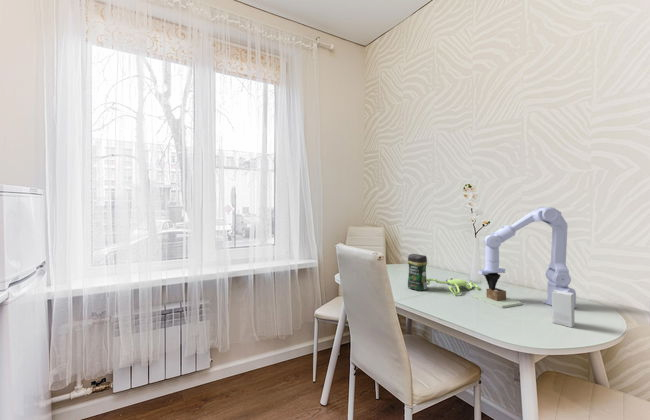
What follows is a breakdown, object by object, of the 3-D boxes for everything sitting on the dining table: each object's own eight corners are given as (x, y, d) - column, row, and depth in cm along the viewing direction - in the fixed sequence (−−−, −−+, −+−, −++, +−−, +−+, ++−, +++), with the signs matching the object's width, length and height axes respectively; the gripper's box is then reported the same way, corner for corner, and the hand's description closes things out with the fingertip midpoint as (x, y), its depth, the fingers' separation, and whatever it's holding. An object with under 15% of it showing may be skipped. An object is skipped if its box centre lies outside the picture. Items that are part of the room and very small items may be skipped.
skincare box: (574, 324, 109) (575, 292, 109) (572, 328, 106) (572, 295, 106) (554, 319, 114) (554, 289, 114) (551, 322, 111) (551, 291, 111)
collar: (506, 299, 135) (506, 291, 135) (496, 301, 133) (496, 292, 133) (495, 296, 140) (495, 287, 140) (486, 297, 138) (486, 288, 138)
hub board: (522, 304, 131) (522, 293, 131) (501, 308, 127) (501, 296, 127) (491, 294, 146) (491, 284, 146) (472, 296, 142) (472, 286, 142)
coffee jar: (405, 288, 158) (405, 254, 157) (413, 285, 163) (413, 252, 162) (420, 292, 150) (420, 256, 150) (429, 289, 155) (429, 254, 155)
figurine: (421, 289, 157) (421, 278, 157) (453, 281, 171) (453, 272, 171) (451, 298, 141) (451, 287, 141) (483, 289, 155) (483, 279, 155)
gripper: (496, 257, 145) (496, 285, 145) (473, 259, 140) (473, 287, 140) (509, 260, 138) (509, 289, 138) (485, 262, 133) (485, 292, 134)
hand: (491, 288), depth 139 cm, fingers closed, pressing on collar
